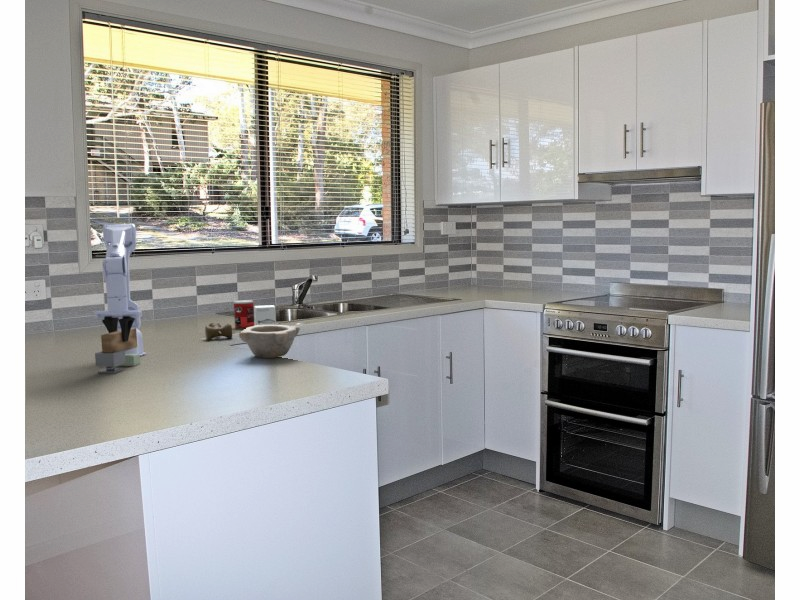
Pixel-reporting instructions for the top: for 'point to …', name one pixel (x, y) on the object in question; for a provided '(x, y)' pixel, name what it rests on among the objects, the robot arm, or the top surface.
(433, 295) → the top surface
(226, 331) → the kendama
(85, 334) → the top surface
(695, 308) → the top surface
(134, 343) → the walnut rail
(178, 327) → the top surface
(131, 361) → the block
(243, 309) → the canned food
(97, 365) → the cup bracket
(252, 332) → the mortar
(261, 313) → the supplement box
